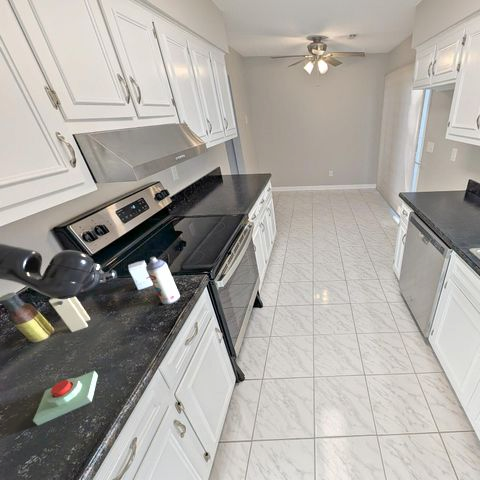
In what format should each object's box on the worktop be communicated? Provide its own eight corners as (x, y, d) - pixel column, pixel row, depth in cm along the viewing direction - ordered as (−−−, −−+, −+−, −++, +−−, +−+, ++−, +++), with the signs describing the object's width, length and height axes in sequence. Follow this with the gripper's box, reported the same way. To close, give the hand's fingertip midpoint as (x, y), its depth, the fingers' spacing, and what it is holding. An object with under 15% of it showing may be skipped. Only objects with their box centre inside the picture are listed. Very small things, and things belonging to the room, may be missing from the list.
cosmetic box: (139, 292, 109) (127, 269, 104) (138, 287, 113) (127, 264, 107) (155, 286, 112) (144, 264, 106) (154, 282, 116) (144, 259, 110)
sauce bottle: (48, 330, 93) (14, 287, 83) (61, 332, 92) (28, 289, 82) (27, 345, 87) (-13, 301, 78) (40, 347, 86) (2, 303, 77)
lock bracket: (100, 315, 98) (79, 283, 90) (96, 329, 92) (73, 295, 84) (70, 325, 94) (46, 292, 87) (64, 340, 88) (37, 306, 81)
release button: (73, 381, 70) (70, 377, 69) (70, 392, 67) (66, 388, 66) (56, 388, 68) (53, 384, 68) (52, 400, 66) (48, 396, 65)
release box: (98, 375, 75) (91, 366, 73) (91, 401, 68) (84, 393, 66) (49, 395, 71) (41, 386, 69) (37, 425, 64) (28, 417, 62)
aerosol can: (158, 300, 104) (139, 259, 94) (175, 291, 108) (158, 251, 99) (165, 307, 100) (145, 265, 90) (182, 297, 104) (165, 256, 95)
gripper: (112, 259, 74) (116, 264, 87) (41, 269, 65) (57, 273, 78) (116, 285, 73) (119, 286, 86) (45, 298, 65) (61, 297, 78)
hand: (90, 280), depth 82 cm, fingers open, 8 cm apart
